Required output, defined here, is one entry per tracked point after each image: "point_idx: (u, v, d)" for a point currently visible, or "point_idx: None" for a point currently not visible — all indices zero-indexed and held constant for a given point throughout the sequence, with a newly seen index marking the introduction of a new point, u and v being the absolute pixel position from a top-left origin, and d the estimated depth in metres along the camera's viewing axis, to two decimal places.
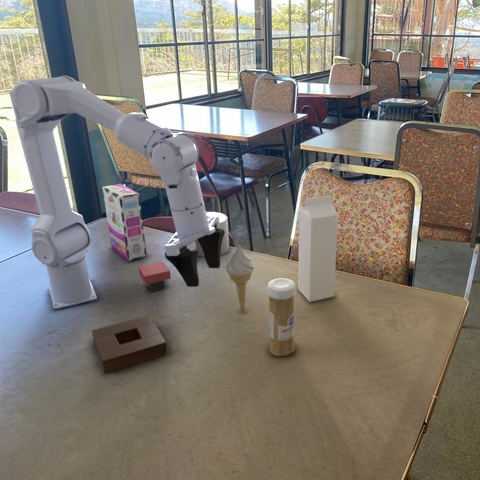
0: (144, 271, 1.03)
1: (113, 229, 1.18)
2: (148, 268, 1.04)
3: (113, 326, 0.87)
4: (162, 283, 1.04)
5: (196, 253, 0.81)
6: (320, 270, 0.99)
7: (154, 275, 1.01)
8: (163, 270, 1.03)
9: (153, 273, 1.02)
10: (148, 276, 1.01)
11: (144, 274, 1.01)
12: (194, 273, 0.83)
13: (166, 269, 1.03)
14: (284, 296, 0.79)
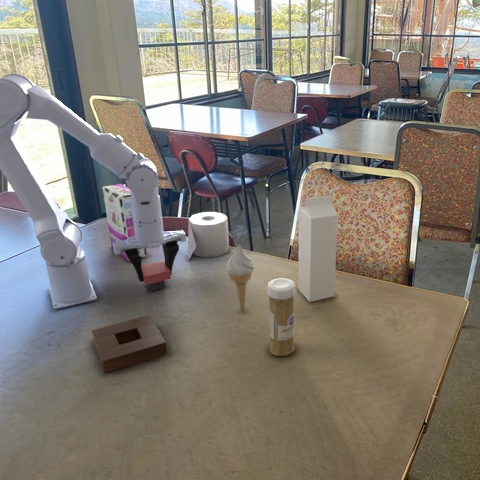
0: (144, 271, 1.03)
1: (113, 229, 1.18)
2: (148, 268, 1.04)
3: (113, 326, 0.87)
4: (162, 283, 1.04)
5: (138, 257, 0.98)
6: (320, 270, 0.99)
7: (155, 275, 1.01)
8: (163, 269, 1.03)
9: (153, 273, 1.02)
10: (148, 276, 1.01)
11: (144, 274, 1.01)
12: (137, 271, 1.00)
13: (166, 269, 1.03)
14: (284, 296, 0.79)
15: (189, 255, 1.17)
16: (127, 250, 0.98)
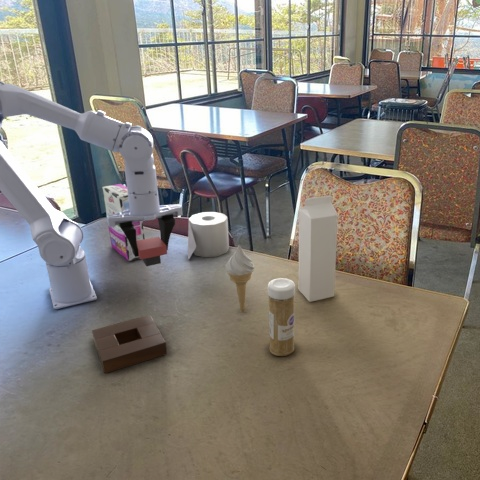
0: (139, 245, 0.99)
1: (113, 229, 1.18)
2: (144, 243, 1.00)
3: (113, 326, 0.87)
4: (158, 259, 1.01)
5: (133, 230, 0.95)
6: (320, 270, 0.99)
7: (150, 250, 0.98)
8: (159, 244, 1.00)
9: (149, 247, 0.98)
10: (144, 250, 0.97)
11: (139, 248, 0.98)
12: (132, 245, 0.97)
13: (162, 244, 1.00)
14: (284, 296, 0.79)
15: (189, 255, 1.17)
16: (121, 223, 0.95)
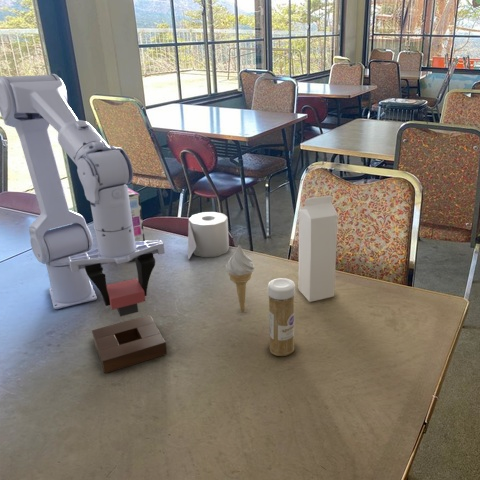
0: (111, 291, 0.81)
1: None
2: (117, 288, 0.82)
3: (113, 326, 0.87)
4: (135, 306, 0.83)
5: (101, 276, 0.76)
6: (320, 270, 0.99)
7: (124, 297, 0.80)
8: (136, 290, 0.81)
9: (122, 295, 0.80)
10: (116, 298, 0.79)
11: (110, 296, 0.79)
12: (101, 293, 0.79)
13: (139, 289, 0.82)
14: (284, 296, 0.79)
15: (189, 255, 1.17)
16: (87, 266, 0.77)
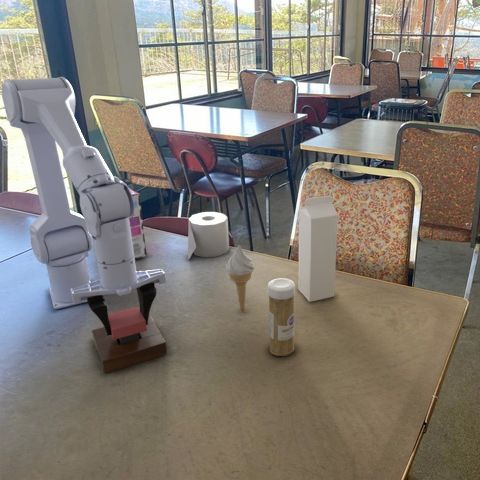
0: (113, 321, 0.81)
1: None
2: (119, 317, 0.82)
3: None
4: (136, 336, 0.83)
5: (103, 307, 0.77)
6: (320, 270, 0.99)
7: (125, 328, 0.80)
8: (137, 319, 0.82)
9: (124, 325, 0.80)
10: (117, 329, 0.80)
11: (112, 326, 0.80)
12: (103, 323, 0.79)
13: (141, 319, 0.82)
14: (284, 296, 0.79)
15: (189, 255, 1.17)
16: (89, 298, 0.77)
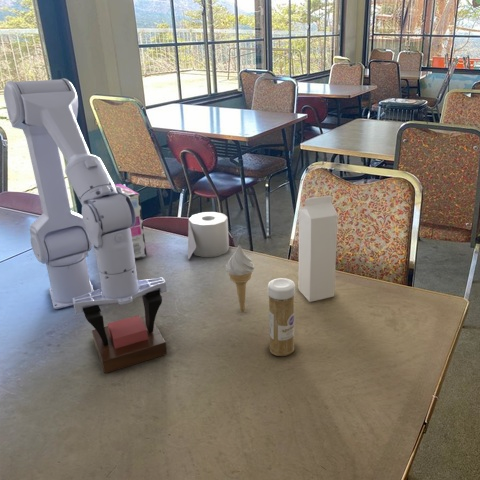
0: (114, 330, 0.82)
1: None
2: (120, 326, 0.83)
3: None
4: None
5: (99, 318, 0.77)
6: (320, 270, 0.99)
7: (127, 337, 0.81)
8: (139, 328, 0.83)
9: (125, 334, 0.81)
10: (119, 338, 0.80)
11: (114, 335, 0.81)
12: (99, 334, 0.80)
13: (142, 327, 0.83)
14: (284, 296, 0.79)
15: (189, 255, 1.17)
16: (85, 308, 0.78)
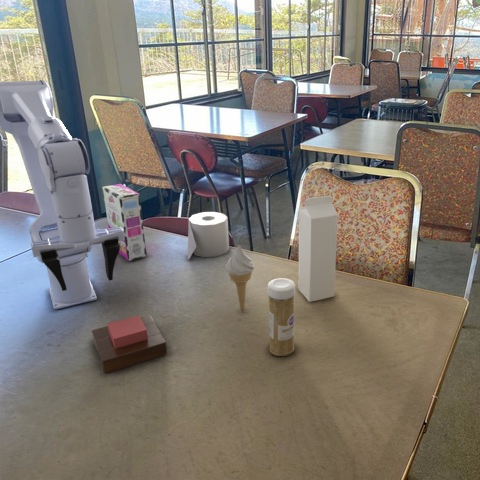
0: (114, 330, 0.82)
1: None
2: (120, 326, 0.83)
3: None
4: None
5: (56, 261, 0.80)
6: (320, 270, 0.99)
7: (127, 337, 0.81)
8: (139, 328, 0.83)
9: (125, 334, 0.81)
10: (119, 338, 0.80)
11: (114, 335, 0.81)
12: (57, 278, 0.82)
13: (142, 327, 0.83)
14: (284, 296, 0.79)
15: (189, 255, 1.17)
16: (43, 252, 0.81)
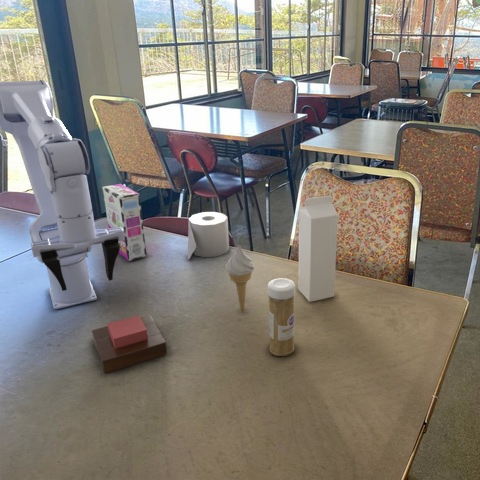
0: (114, 330, 0.82)
1: None
2: (120, 326, 0.83)
3: None
4: None
5: (56, 261, 0.80)
6: (320, 270, 0.99)
7: (127, 337, 0.81)
8: (139, 328, 0.83)
9: (125, 334, 0.81)
10: (119, 338, 0.80)
11: (114, 335, 0.81)
12: (57, 278, 0.82)
13: (142, 327, 0.83)
14: (284, 296, 0.79)
15: (189, 255, 1.17)
16: (43, 252, 0.81)
